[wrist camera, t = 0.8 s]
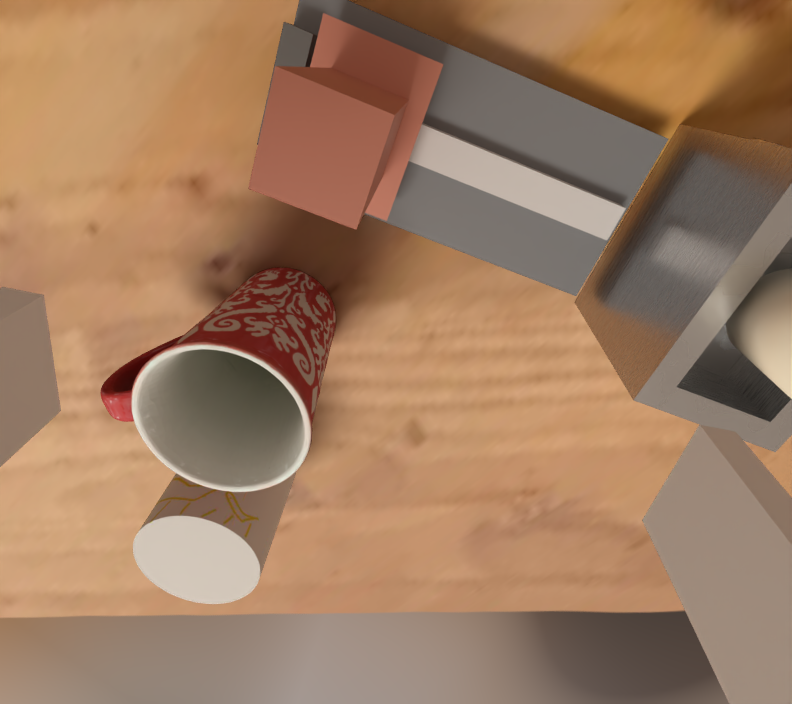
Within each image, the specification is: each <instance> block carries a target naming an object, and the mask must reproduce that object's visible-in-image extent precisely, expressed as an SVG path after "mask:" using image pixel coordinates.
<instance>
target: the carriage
mask: <svg viewBox="0 0 792 704" xmlns="http://www.w3.org/2000/svg"><path fill="white" fill-rule="evenodd" d="M442 67H443V64H441V63H439V62H437V61H434V60H432V59H430V58H427V57H425V56H423V55H420V54H418V53H416V52H413V51H411V50H409V49H406V48H404V47H402V46H399V45H397V44H395V43H392V42H390V41H388V40H385V39H383V38H381V37H378V36H376V35H374V34H371V33H369V32H367V31H364V30H362V29H360V28H357V27H355V26H353V25H350V24H348V23H346V22H343V21H341V20H339V19H336V18H334V17H332V16H329V15H327V14H325V13H323V17H322V21H321V25H320V29H319V33H318V37H317V41H316V45H315V49H314V53H313V57H312V61H311V65H310V67H290V66H275V70H274V74H273V79H272V83H271V88H270V92H269V97H268V102H267V106H266V111H265V115H264V120H263V124H262V129H261V133H260V138H259V142H258V147H257V151H256V156H255V161H254V165H253V170H252V174H251V179H250V183H249V188H248V189H250V190H253V191H256V192H258V193H261V194H263V195H266V196H269V197H271V198H274V199H277V200H279V201H282V202H284V203H287V204H290V205H292V206H295V207H298V208H300V209H303V210H305V211H308V212H311V213H313V214H316V215H318V216H321V217H324V218H326V219H329V220H332V221H334V222H337V223H339V224H342V225H345V226H347V227H350V228H353V229H355V230H357V228H358V226H359V224H360V222H361V220H362V218H363V216H364V214H365V213H367V214H370V215H372V216H375V217H377V218H380V219H383V220H385V221H387V219H388V216H389V214H390V211H391V208H392V205H393V203H394V200H395V197H396V194H397V191H398V189H399V186H400V183H401V180H402V178H403V175H404V172H405V169H406V167H407V164H408V161H409V158H410V156H411V153H412V150H413V147H414V144H415V142H416V139H417V136H418V133H419V131H420V128H421V125H422V122H423V120H424V117H425V114H426V111H427V109H428V106H429V103H430V100H431V98H432V95H433V92H434V89H435V86H436V84H437V81H438V78H439V75H440V73H441V70H442Z"/></svg>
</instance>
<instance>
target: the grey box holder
mask: <svg viewBox="0 0 792 704" xmlns="http://www.w3.org/2000/svg"><path fill="white" fill-rule="evenodd" d="M791 268H792V148H788V147H785V146H782V145H779V144H776V143H772V142H769V141H765V140H761V139H757V138H753V139H752V140H751V139H746V138H742V137H737V136H733V135H728V134H723V133H719V132H714V131H709V130H705V129H700V128H696V127H691V126H686V125H682V124H680V125H679V127H678V129H677V131H676V132H675V134H674V136H673V137H672V139H671V141H670V142H669V144H668V146H667V147H666V149H665V151H664V152H663V154H662V156H661V158H660V159H659V161H658V163H657V164H656V166H655V168H654V169H653V171H652V173H651V174H650V176H649V178H648V180H647V181H646V183H645V185H644V186H643V188H642V190H641V191H640V193H639V195H638V196H637V198H636V200H635V201H634V203H633V205H632V207H631V208H630V210H629V212H628V213H627V215H626V217H625V218H624V220H623V222H622V223H621V225H620V227H619V229H618V230H617V232H616V234H615V235H614V237H613V239H612V240H611V242H610V244H609V245H608V247H607V249H606V251H605V252H604V254H603V256H602V257H601V259H600V261H599V262H598V264H597V266H596V267H595V269H594V271H593V272H592V274H591V276H590V278H589V279H588V281H587V283H586V284H585V286H584V288H583V289H582V291H581V293H580V294H579V296H578V298H577V300H576V301H575V304H576V305H577V307H578V309H579V310H580V312H581V314H582V315H583V317H584V319H585V320H586V322H587V324H588V325H589V327H590V329H591V330H592V332H593V334H594V335H595V337H596V339H597V340H598V342H599V344H600V345H601V347H602V349H603V350H604V352H605V354H606V355H607V357H608V359H609V360H610V362H611V364H612V365H613V367H614V369H615V370H616V372H617V374H618V375H619V377H620V379H621V380H622V382H623V384H624V385H625V387H626V389H627V390H628V392H629V394H630V395H631V397H632V399H633V400H634V401H637V402H640V403H643V404H645V405H648V406H651V407H654V408H656V409H659V410H662V411H664V412H667V413H670V414H673V415H675V416H678V417H681V418H684V419H686V420H689V421H692V422H695V423H697V424H700V425H704V426H709V427H714V428H719V429H724V430H729V431H735V432H736V433H737V434H738V435H739V436H740V437H741V439H742V440H744V441H746V442H749V443H752V444H755V445H757V446H760V447H763V448H766V449H768V450H771V451H774V452H776V451H777V450H778V449H779V448H780V447H781V446H782V444H783V443H784V442H785V441H786V440H787V439H788V438H789V437H790V436H791V435H792V399H791V398H790V397H789V396H788V395H787V394H786V393H784V392H783V391H782V390H781V389H780V388H779V387H778V386H777V385H776V384H775V383H774V382H773V381H771V380H770V379H769V378H768V377H767V376H766V375H765V374H764V373H763V372H762V371H761V370H759V369H758V368H757V367H756V366H755V365H754V364H753V363H752V362H751V361H750V360H749V359H748V358H746V357H745V356H744V355H743V354H742V353H741V352H740V351H739V350H738V349H737V348H736V347H735V346H734V345H733V344H732V343H731V342H730V340H729V338H728V335H727V331H726V322H727V320H728V319H729V318H730V316H731V315H732V314H733V312H734V311H735V310H736V309H737V307H738V306H739V305H740V303H741V302H742V301H743V299H744V298H745V297H746V296H747V294H748V293H749V292H750V290H751V289H752V288H753V286H754V285H755V284H756V283H757V281H758V280H759V279H760V278H761V277H763V276H765V275H767V274H769V273H772V272H775V271H778V270H783V269H791Z"/></svg>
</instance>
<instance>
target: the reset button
mask: <svg viewBox="0 0 792 704" xmlns="http://www.w3.org/2000/svg"><path fill="white" fill-rule="evenodd" d="M726 331H727V335H728V338H729V340H730V342H731V343H732V344H733V345H734V346H735V347H736V348H737V349H738V350H739V351H740V352H741V353H742V354H743V355H744V356H745V357H746V358H748V359H749V360H750V361H751V362H752V363H753V364H754V365H755V366H756V367H757V368H758V369H759V370H761V371H762V372H763V373H764V374H765V375H766V376H767V377H768V378H769V379H770V380H771V381H773V382H774V383H775V384H776V385H777V386H778V387H779V388H780V389H781V390H782V391H783V392H784V393H786V394H787V395H788V396H789V397H790V398H791V399H792V268H791V269H783V270H778V271H775V272H772V273H769V274H767V275H765V276H763V277H761V278H760V279H759V280H758V281H757V283H756V284H755V285H754V286H753V288H752V289H751V290H750V292H749V293H748V294H747V296H746V297H745V298H744V299H743V301H742V302H741V303H740V305H739V306H738V307H737V309H736V310H735V311H734V312H733V314H732V315H731V316H730V318H729V319H728V320H727V322H726Z"/></svg>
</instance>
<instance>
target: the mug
mask: <svg viewBox="0 0 792 704" xmlns="http://www.w3.org/2000/svg"><path fill="white" fill-rule="evenodd" d="M335 325H336V313H335V308H334V305H333V301H332V299H331V297H330V295H329V294H328V292H327V291H326V290H325V288H324V287H323V286H322V285H321V284H320V283H319V282H318V281H317V280H315V279H314V278H313V277H311V276H309V275H307V274H305V273H303V272H301V271H298V270H295V269H291V268H271V269H267V270H264V271H261V272H259V273H257V274H255V275H254V276H252V277H251V278H249V279H248V280H247V281H245V282H244V283H243V284H242V285H241V286H240V287H239V288H238V289H237V290H236V291H235V292H233V293H232V294H231V295H230V296H229V297H228V298H226V299H225V300H224V301H223V302H222V303H221V304H220V305H219V306H218V307H216V308H215V309H214V310H213V311H212V312H211V313H210V314H209V315H207V316H206V317H205V318H204V319H203V320H201V321H200V322H199V323H198V324H196V325H195V326H194V327H193V328H192V329H191V330H189V331H188V332H187V333H186V334H185V335H182V336H180V337H178V338H175V339H173V340H171V341H169V342H167V343H164V344H162V345H160V346H158V347H156V348H154V349H152V350H150V351H148V352H146V353H144V354H142V355H140V356H139V357H137V358H135V359H133V360H132V361H130V362H128V363H127V364H125V365H124V366H122V367H121V368H119V369H118V370H117V371H116V372H115V373H113V374H112V375H111V376H110V377H109V378H108V379H107V380H106V381H105V382H104V384H103V385H102V388H101V398H102V401H103V403H104V405H105V407H106V409H107V410H108V412H109V414H110V415H111V416H112V417H113V418H115V419H117V420H120V421H125V422H128V421H134V422H135V425H136V427H137V429H138V431H139V433H140V435H141V437H142V439H143V440H144V442H145V443H146V445H147V446H148V448H149V449H150V450H151V451H152V453H153V454H154V455H155V456H156V457H157V458H158V459H159V460H160V461H161V462H162V463H163V464H164V465H166V466H167V467H168V468H169V469H171V470H172V471H174V472H175V473H177V474H179V475H180V476H182V477H184V478H186V479H188V480H190V481H192V482H194V483H197V484H199V485H202V486H205V487H208V488H212V489H217V490H222V491H230V492H250V491H257V490H262V489H265V488H269V487H272V486H274V485H277V484H279V483H281V482H283V481H285V480H286V479H287V478H289V477H291V476H292V475H293V474H294V473H295V472H296V471H297V470H298V469H299V468H300V466H301V465H302V463H303V462H304V460H305V458H306V456H307V454H308V452H309V449H310V445H311V441H312V421H313V417H314V414H315V410H316V405H317V401H318V397H319V393H320V388H321V383H322V379H323V376H324V371H325V368H326V364H327V359H328V356H329V351H330V347H331V343H332V340H333V336H334V331H335Z"/></svg>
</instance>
